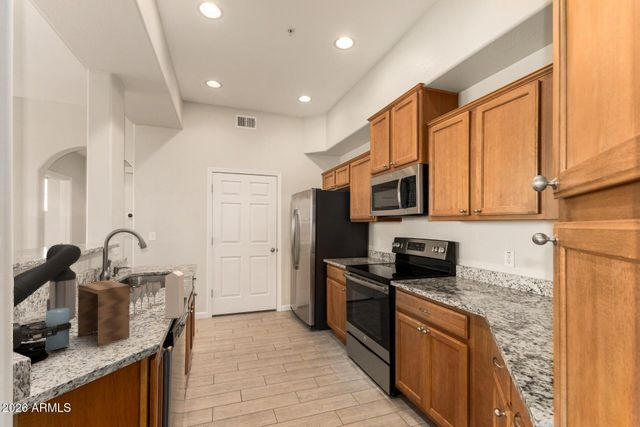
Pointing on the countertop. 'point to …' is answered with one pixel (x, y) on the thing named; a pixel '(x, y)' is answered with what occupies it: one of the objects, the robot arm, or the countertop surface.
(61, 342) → the grey-blue cylinder
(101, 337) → the open wooden box
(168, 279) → the milk
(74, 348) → the countertop surface
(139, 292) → the goblet set
